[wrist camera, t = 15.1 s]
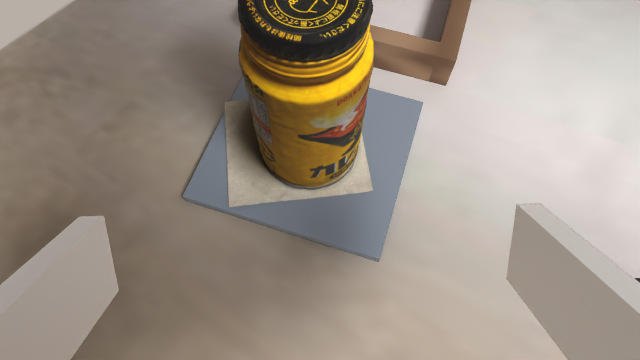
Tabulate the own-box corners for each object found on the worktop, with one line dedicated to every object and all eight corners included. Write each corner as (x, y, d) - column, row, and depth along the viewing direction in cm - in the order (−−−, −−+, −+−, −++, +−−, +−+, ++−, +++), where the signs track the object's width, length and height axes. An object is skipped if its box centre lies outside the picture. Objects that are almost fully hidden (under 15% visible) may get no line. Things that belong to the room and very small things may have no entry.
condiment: (372, 191, 27) (410, 54, 16) (229, 208, 26) (166, 77, 15) (353, 91, 30) (374, -81, 19) (225, 104, 29) (170, -65, 18)
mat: (421, 107, 30) (423, 102, 29) (378, 261, 25) (379, 258, 25) (253, 62, 32) (252, 56, 31) (185, 200, 27) (182, 196, 26)
